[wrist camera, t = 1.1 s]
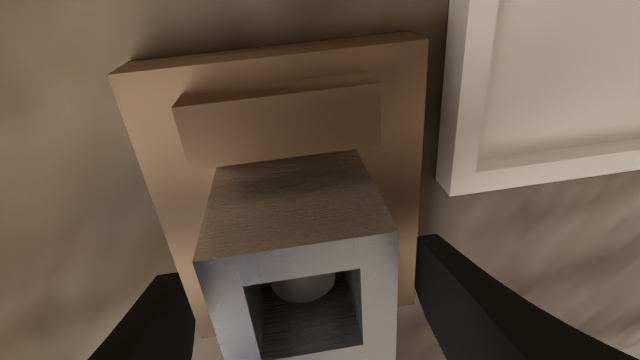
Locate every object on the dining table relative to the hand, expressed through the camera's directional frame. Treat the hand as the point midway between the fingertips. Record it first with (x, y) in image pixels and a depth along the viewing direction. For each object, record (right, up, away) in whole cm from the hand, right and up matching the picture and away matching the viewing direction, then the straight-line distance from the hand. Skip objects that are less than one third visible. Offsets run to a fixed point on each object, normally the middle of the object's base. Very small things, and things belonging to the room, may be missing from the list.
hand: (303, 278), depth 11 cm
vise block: (-1, +3, +5) cm, 6 cm away
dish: (+11, +9, +3) cm, 14 cm away
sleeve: (0, +2, +3) cm, 4 cm away
